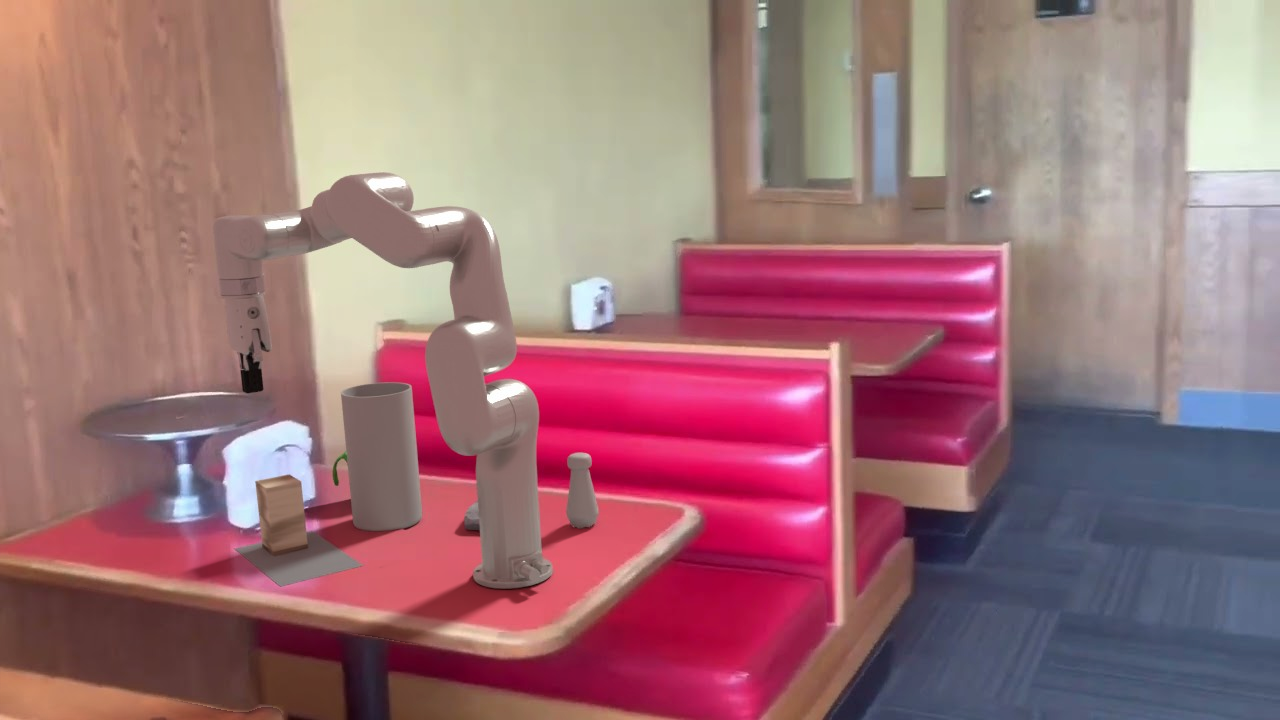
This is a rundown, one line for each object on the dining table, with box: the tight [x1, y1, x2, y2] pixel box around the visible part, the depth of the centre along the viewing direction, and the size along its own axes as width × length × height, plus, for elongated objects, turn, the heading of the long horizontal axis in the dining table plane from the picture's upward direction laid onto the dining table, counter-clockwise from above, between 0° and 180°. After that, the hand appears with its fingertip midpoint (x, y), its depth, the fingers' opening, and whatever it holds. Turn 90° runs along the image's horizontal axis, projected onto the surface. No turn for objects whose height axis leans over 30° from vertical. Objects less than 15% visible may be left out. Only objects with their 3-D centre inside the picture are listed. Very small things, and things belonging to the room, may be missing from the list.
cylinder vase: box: [340, 381, 423, 532], centre depth 225 cm, size 12×12×25 cm
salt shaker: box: [565, 452, 600, 529], centre depth 219 cm, size 6×6×13 cm
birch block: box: [254, 474, 308, 556], centre depth 213 cm, size 6×6×12 cm
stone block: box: [463, 500, 480, 531], centre depth 223 cm, size 12×5×10 cm
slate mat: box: [234, 530, 364, 587], centre depth 209 cm, size 24×14×1 cm, turn 35°
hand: (253, 391), depth 216 cm, fingers closed
